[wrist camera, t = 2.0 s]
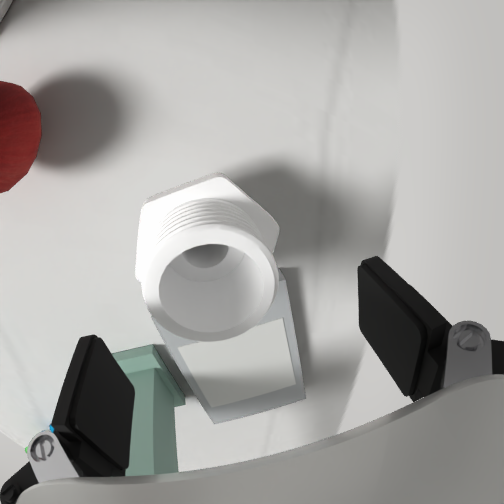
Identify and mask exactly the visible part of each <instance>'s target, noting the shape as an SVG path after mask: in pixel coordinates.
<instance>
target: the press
mask: <svg viewBox="0 0 504 504" xmlns="http://www.w3.org/2000/svg"><path fill="white" fill-rule="evenodd" d="M278 273H279V285H278V291H277V294H276V297H275V300H274V302H273V304H272V305H271V307H270V309H269V310H268V311H267V313H266V314H265V315H264V316H263V318H262V319H261V320H260V321H259V322H258V323H257V324H256V325H255V326H254V327H253V328H251V329H250V330H248V331H246V332H245V333H243V334H241V335H238V336H236V337H233V338H230V339H227V340H222V341H215V342H200V341H193V340H189V339H185V338H182V337H179V336H177V335H175V334H173V333H171V332H169V331H168V330H166V329H165V328H164V327H162V326H161V325H160V324H159V323H158V322H157V321H156V320H155V319H154V318H153V316H151V318H152V320H153V322H154V324H155V326H156V328H157V330H158V331H159V333H160V335H161V337H162V339H163V341H164V343H165V344H166V346H167V348H168V350H169V352H170V353H171V355H172V357H173V359H174V360H175V362H176V364H177V366H178V367H179V369H180V371H181V372H182V374H183V376H184V378H185V379H186V381H187V382H188V384H189V386H190V387H191V389H192V391H193V392H194V394H195V396H196V397H197V399H198V400H199V402H200V403H201V405H202V407H203V408H204V410H205V411H206V413H207V414H208V416H209V417H210V419H211V420H212V422H213V423H214V424H217V423H222V422H226V421H230V420H234V419H238V418H242V417H246V416H250V415H254V414H257V413H261V412H265V411H268V410H271V409H275V408H278V407H281V406H285V405H288V404H291V403H294V402H297V401H300V400H303V399H306V394H305V388H304V382H303V376H302V370H301V364H300V358H299V352H298V346H297V340H296V335H295V329H294V323H293V318H292V312H291V307H290V301H289V296H288V290H287V285H286V280H285V278H284V276H283V274H282V272H281V270H280V269H279V268H278ZM112 355H113V357H114V358H115V360H116V361H117V363H118V364H119V366H120V367H121V369H122V370H123V372H124V373H125V374H126V376H127V377H128V379H129V380H130V382H131V383H132V384H133V386H134V389H135V400H134V409H133V419H132V431H131V443H130V458H129V467H128V468H127V469H126V473H125V476H143V475H157V474H168V473H177V472H178V461H177V448H176V433H175V415H174V407H177V406H182V405H185V396H184V394H183V393H182V391H181V390H180V388H179V386H178V385H177V383H176V382H175V380H174V379H173V377H172V375H171V374H170V372H169V371H168V369H167V367H166V366H165V364H164V362H163V361H162V359H161V357H160V356H159V354H158V352H157V351H156V349H155V347H154V346H153V344H152V345H148V346H144V347H140V348H135V349H131V350H127V351H122V352H118V353H113V354H112ZM111 477H112V476H111Z"/></svg>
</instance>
